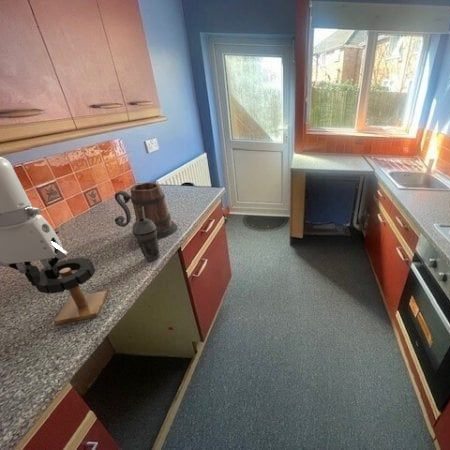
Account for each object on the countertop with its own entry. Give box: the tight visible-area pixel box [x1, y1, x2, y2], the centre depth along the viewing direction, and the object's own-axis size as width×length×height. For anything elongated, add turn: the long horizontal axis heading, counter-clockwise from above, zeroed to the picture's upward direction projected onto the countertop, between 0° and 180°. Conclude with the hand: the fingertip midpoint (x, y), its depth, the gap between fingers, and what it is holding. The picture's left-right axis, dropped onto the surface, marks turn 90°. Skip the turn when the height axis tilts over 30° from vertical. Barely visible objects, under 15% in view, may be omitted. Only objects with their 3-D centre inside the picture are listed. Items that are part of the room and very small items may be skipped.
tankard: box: [114, 182, 178, 240], centre depth 103 cm, size 24×17×20 cm
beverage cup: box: [132, 207, 161, 262], centre depth 86 cm, size 7×7×20 cm
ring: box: [33, 257, 96, 295], centre depth 63 cm, size 11×11×2 cm
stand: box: [53, 268, 109, 325], centre depth 66 cm, size 9×9×13 cm
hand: (46, 280), depth 62 cm, fingers closed on ring, 2 cm apart
